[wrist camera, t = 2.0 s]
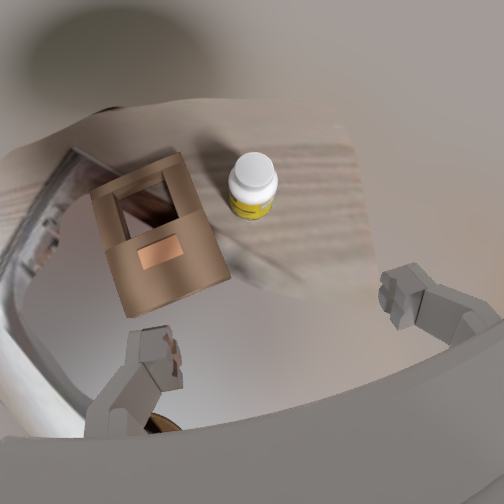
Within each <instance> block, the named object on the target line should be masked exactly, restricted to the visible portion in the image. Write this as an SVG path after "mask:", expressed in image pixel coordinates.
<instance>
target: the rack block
mask: <svg viewBox="0 0 504 504" xmlns="http://www.w3.org/2000/svg"><path fill="white" fill-rule="evenodd" d="M165 180H166V183H167V186H168V189H169V191H170V194H171V197H172V200H173V202H174V205H175V208H176V210H177V213H178V216H179V219H176V220H174V221H171V222H169V223H167V224H164V225H162V226H159V227H157V228H155V229H152V230H150V231H148V232H146V233H143V234H141V235H139V236H136V237H134V238H132V239H131V237H130V234H129V231H128V227H127V224H126V221H125V218H124V214H123V211H122V207H121V204H120V200H121V199H123V198H125V197H128V196H130V195H132V194H134V193H137V192H139V191H141V190H143V189H146V188H148V187H150V186H153V185H155V184H157V183H160V182H162V181H165ZM90 196H91V200H92V204H93V208H94V212H95V216H96V220H97V224H98V228H99V232H100V235H101V239H102V243H103V246H104V250H105V253H106V256H107V260H108V263H109V266H110V270H111V273H112V276H113V279H114V282H115V285H116V288H117V291H118V294H119V297H120V300H121V303H122V306H123V309H124V312H125V314H126V317H127V318H136V317H139V316H141V315H143V314H146V313H148V312H151V311H153V310H156V309H158V308H161V307H163V306H166V305H168V304H170V303H173V302H176V301H178V300H180V299H183V298H185V297H188V296H190V295H193V294H195V293H198V292H200V291H202V290H205V289H207V288H210V287H212V286H214V285H217V284H219V283H222V282H224V281H227V280H229V279H231V275H230V272H229V270H228V268H227V265H226V263H225V261H224V258H223V256H222V253H221V251H220V249H219V246H218V244H217V241H216V239H215V237H214V234H213V232H212V229H211V227H210V224H209V222H208V220H207V217H206V215H205V212H204V210H203V207H202V205H201V202H200V200H199V197H198V195H197V192H196V190H195V187H194V185H193V182H192V180H191V177H190V175H189V172H188V170H187V167H186V165H185V162H184V160H183V157H182V155H181V152H178V153H176V154H173V155H171V156H168V157H166V158H163V159H161V160H158V161H156V162H154V163H151V164H149V165H146V166H144V167H142V168H139V169H137V170H135V171H133V172H130V173H128V174H126V175H124V176H121V177H119V178H117V179H115V180H113V181H111V182H108V183H106V184H104V185H102V186H100V187H98V188H96V189H94V190H92V191H90Z"/></svg>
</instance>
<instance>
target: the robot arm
mask: <svg viewBox="0 0 504 504" xmlns="http://www.w3.org/2000/svg"><path fill="white" fill-rule="evenodd" d="M380 281H381V282H382V283H383V285H382V286H381V287H380V289H379V294H378V297H379V303H380V305H381V307H382V309H383V310H384V312H386V313H389V314H390V320H391V322H392V323H393V324H394V326H395V327H396V329H397V330H401V329H403V328H406V327H409V326H412V325H416V326H417V327H419V328H421V329H423V330H424V331H426V332H428V333H429V334H431V335H433V336H434V337H436V338H438V339H440V340H441V341H443V342H445V343H446V344H448V345H450V347H449V349H447V350H445V351H443V352H441V353H439V354H437V355H435V356H433V357H431V358H428V359H426V360H424V361H422V362H419V363H417V364H415V365H413V366H410V367H408V368H406V369H403V370H401V371H399V372H396V373H394V374H391V375H389V376H386V377H384V378H381V379H379V380H377V381H374V382H371V383H368V384H365V385H363V386H360V387H357V388H354V389H351V390H349V391H345V392H343V393H340V394H336V395H334V396H331V397H327V398H324V399H321V400H318V401H314V402H311V403H307V404H304V405H300V406H297V407H293V408H289V409H286V410H282V411H278V412H274V413H270V414H266V415H261V416H257V417H253V418H248V419H244V420H239V421H234V422H229V423H224V424H218V425H213V426H207V427H201V428H195V429H188V430H181V431H173V432H165V433H156V434H148V433H147V432H146V431H145V430H144V429H143V428H144V426H145V425H146V423H147V421H148V419H149V417H150V415H151V413H152V411H153V409H154V408H155V406H156V404H157V402H158V400H159V398H160V396H161V394H162V393H161V392H165V391H171V390H176V389H182V388H183V374H182V372H181V370H180V366H181V365H182V359H181V354H180V349H179V346H178V343H177V341H176V340H175V339H173V337H172V336H173V335H172V330H171V328H170V326H169V325H164V326H158V327H152V328H146V329H142V330H136V331H130V332H129V334H128V339H127V349H126V357H125V366H121V367H120V368H119V369H118V371H117V372H116V373H115V375H114V376H113V377H112V378H111V380H110V381H109V382H108V383H107V385H106V386H105V387H104V389H103V390H102V391H101V392H100V394H99V395H98V396H97V398H96V399H95V400H94V401H93V403H92V404H91V405H90V407H89V408H88V409H87V413H86V421H85V430H84V438H43V437H26V436H15V435H8V436H5V437H3V438H2V439H1V440H0V504H504V319H501V317H500V316H499V315H498V314H497V313H496V312H495V311H494V309H492V307H491V306H490V305H489V304H488V303H487V302H485V301H483V300H480V299H478V298H475V297H473V296H470V295H467V294H465V293H462V292H460V291H457V290H454V289H452V288H449V287H446V286H444V285H441V284H440V285H437V284H436V283H435V282H434V281H433V280H432V279H431V278H430V277H429V276H428V275H427V273H426V272H425V271H424V270H423V269H422V268H421V267H420V266H419V265H418V264H417V263H410V264H407V265H404V266H401V267H398V268H395V269H392V270H388V271H385V272H383V273H382V274H381V278H380Z"/></svg>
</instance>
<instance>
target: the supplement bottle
mask: <svg viewBox="0 0 504 504" xmlns="http://www.w3.org/2000/svg"><path fill="white" fill-rule="evenodd" d="M277 185H278V179H277V174H276V172H275V170H274V166H273V163H272V161H271V160H270V159H269V158H268V157H267V156H266V155H264V154H262V153H258V152H250V153H246V154H244V155H242V156H241V157H240V158H239V159H238V160H237V162H236V164H235V166H234V167H233V169H232V170H231V172H230V175H229V179H228V186H229V202H230V207H231V209H232V211H233V213H234V214H235V215H236V216H237V217H238V218H240V219H242V220H245V221H257V220H260V219H262V218H263V217H265V216H266V215H267V214H268V212H269V211H270V209H271V207H272V203H273V200H274V196H275V193H276V190H277Z"/></svg>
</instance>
